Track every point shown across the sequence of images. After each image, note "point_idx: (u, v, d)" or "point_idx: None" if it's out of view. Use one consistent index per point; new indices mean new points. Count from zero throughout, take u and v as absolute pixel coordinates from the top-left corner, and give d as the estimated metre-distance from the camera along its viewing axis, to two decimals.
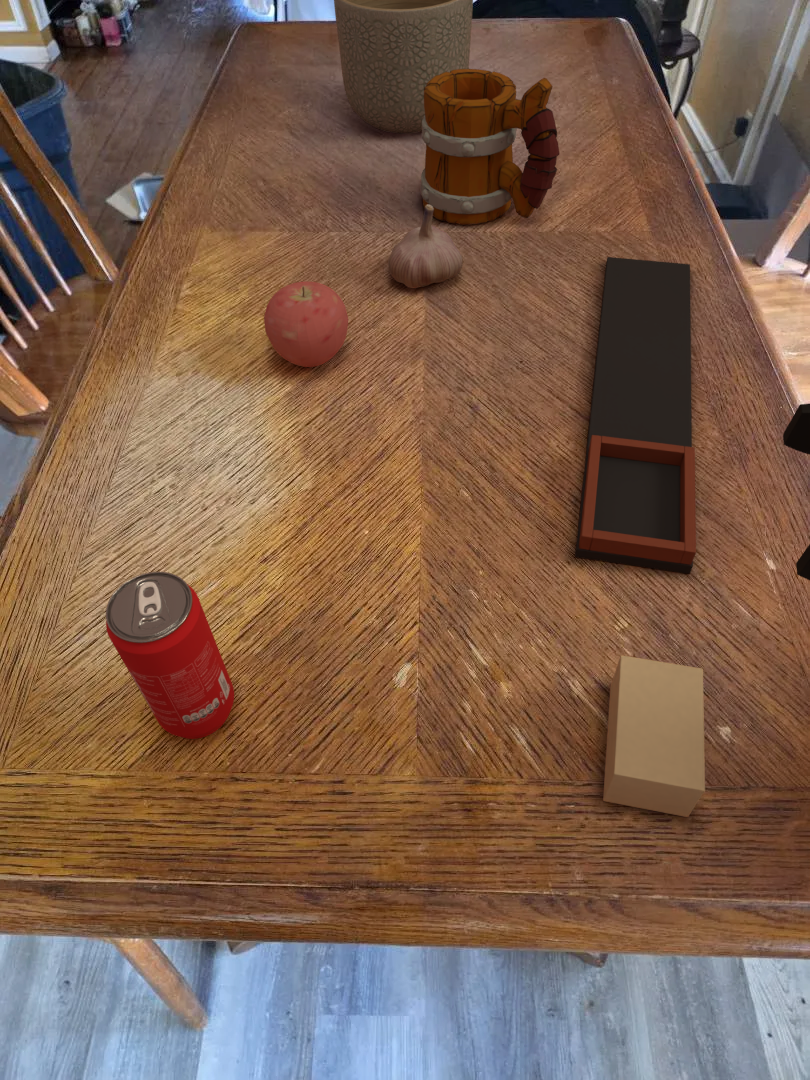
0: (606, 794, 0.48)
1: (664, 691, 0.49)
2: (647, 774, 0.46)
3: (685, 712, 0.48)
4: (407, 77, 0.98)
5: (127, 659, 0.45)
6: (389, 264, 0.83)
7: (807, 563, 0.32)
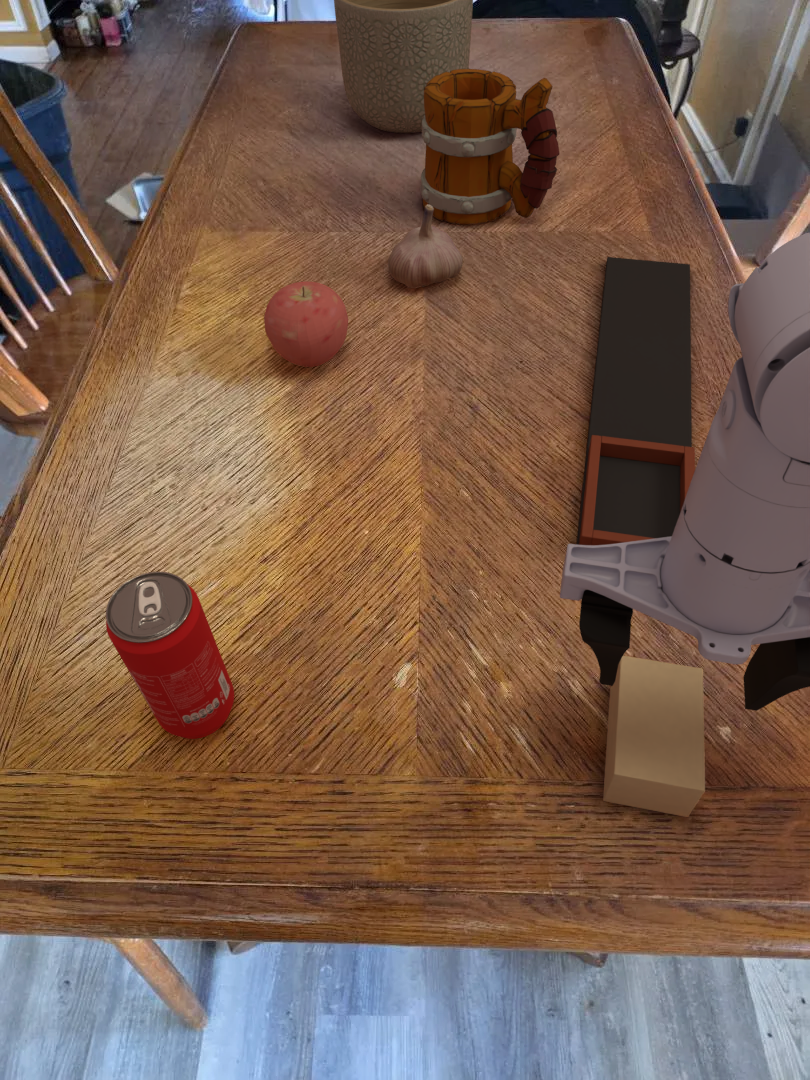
0: (606, 794, 0.48)
1: (664, 691, 0.49)
2: (647, 774, 0.46)
3: (685, 712, 0.48)
4: (407, 77, 0.98)
5: (127, 659, 0.45)
6: (389, 264, 0.83)
7: None
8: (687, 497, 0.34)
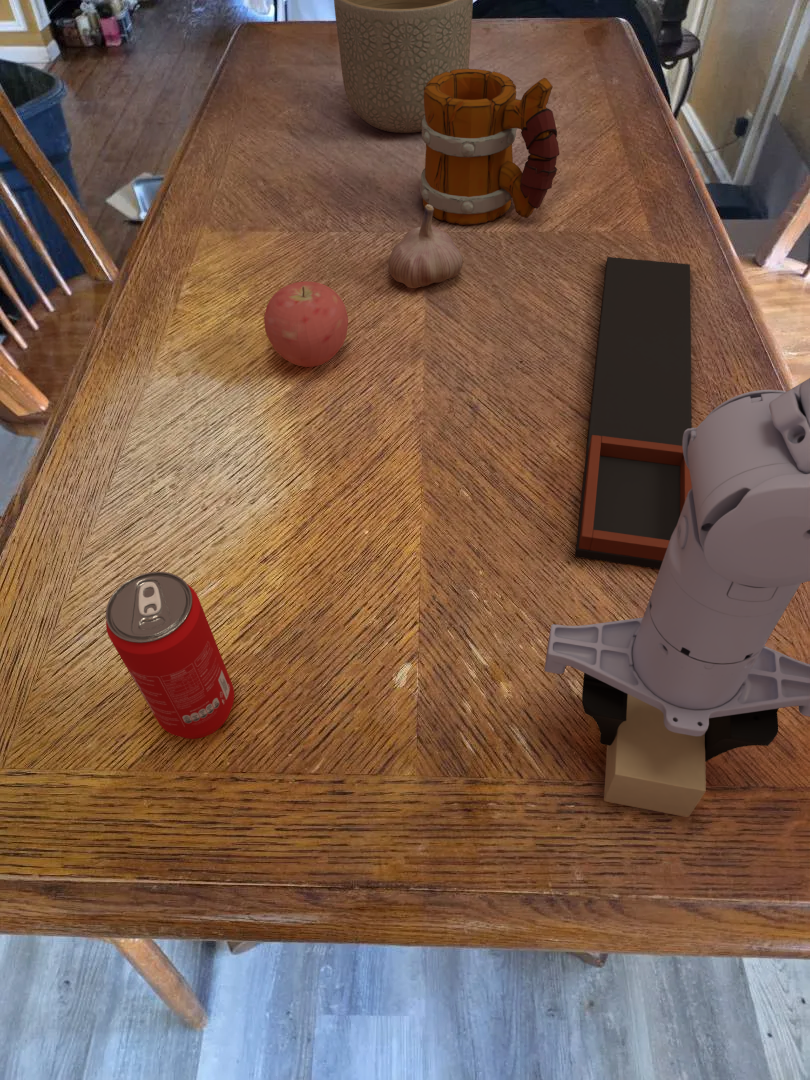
0: (607, 794, 0.48)
1: None
2: (648, 774, 0.46)
3: None
4: (407, 77, 0.98)
5: (127, 659, 0.45)
6: (389, 264, 0.83)
7: None
8: (652, 595, 0.39)
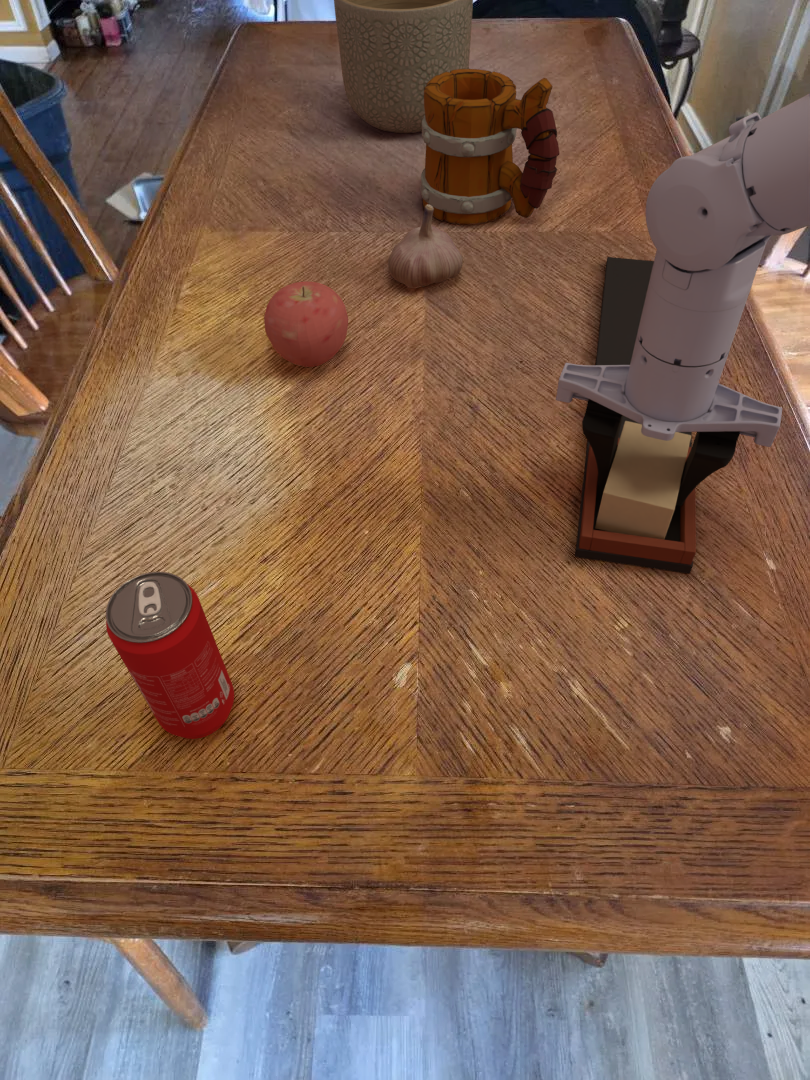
0: (597, 519, 0.60)
1: (655, 446, 0.61)
2: (630, 495, 0.58)
3: (670, 460, 0.60)
4: (407, 77, 0.98)
5: (127, 659, 0.45)
6: (389, 264, 0.83)
7: None
8: None
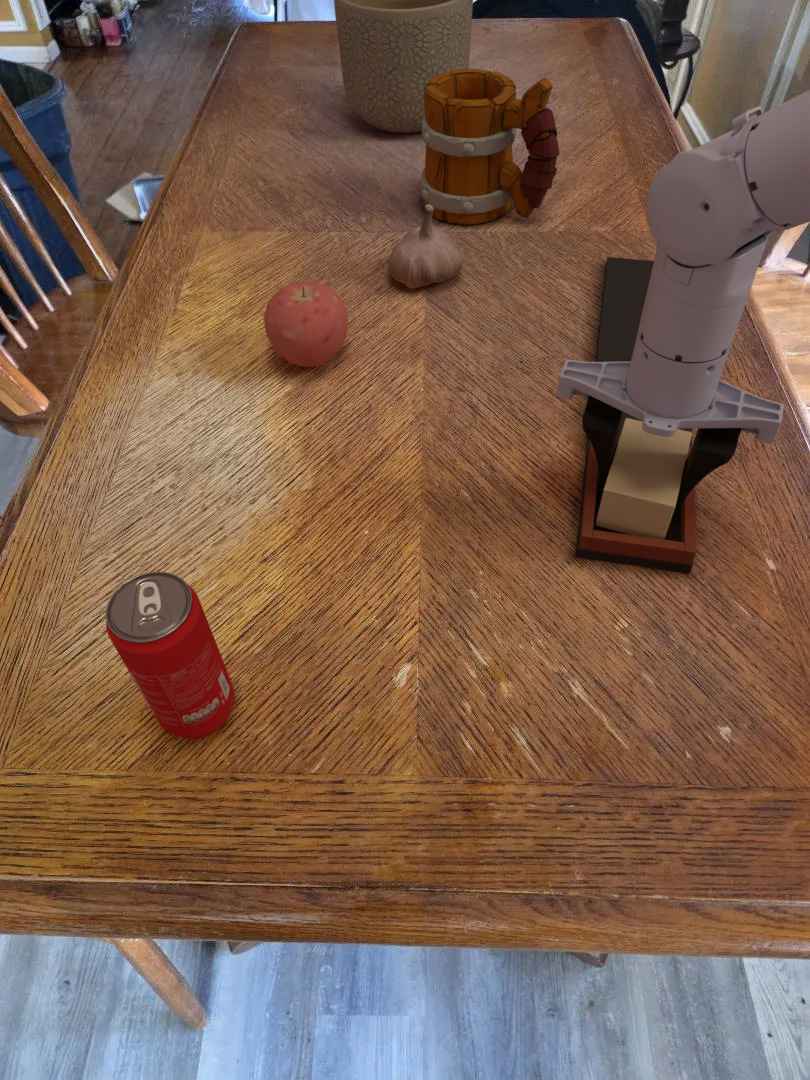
0: (598, 517, 0.60)
1: (656, 443, 0.60)
2: (630, 492, 0.57)
3: (671, 457, 0.59)
4: (407, 77, 0.98)
5: (127, 659, 0.45)
6: (389, 264, 0.83)
7: None
8: None
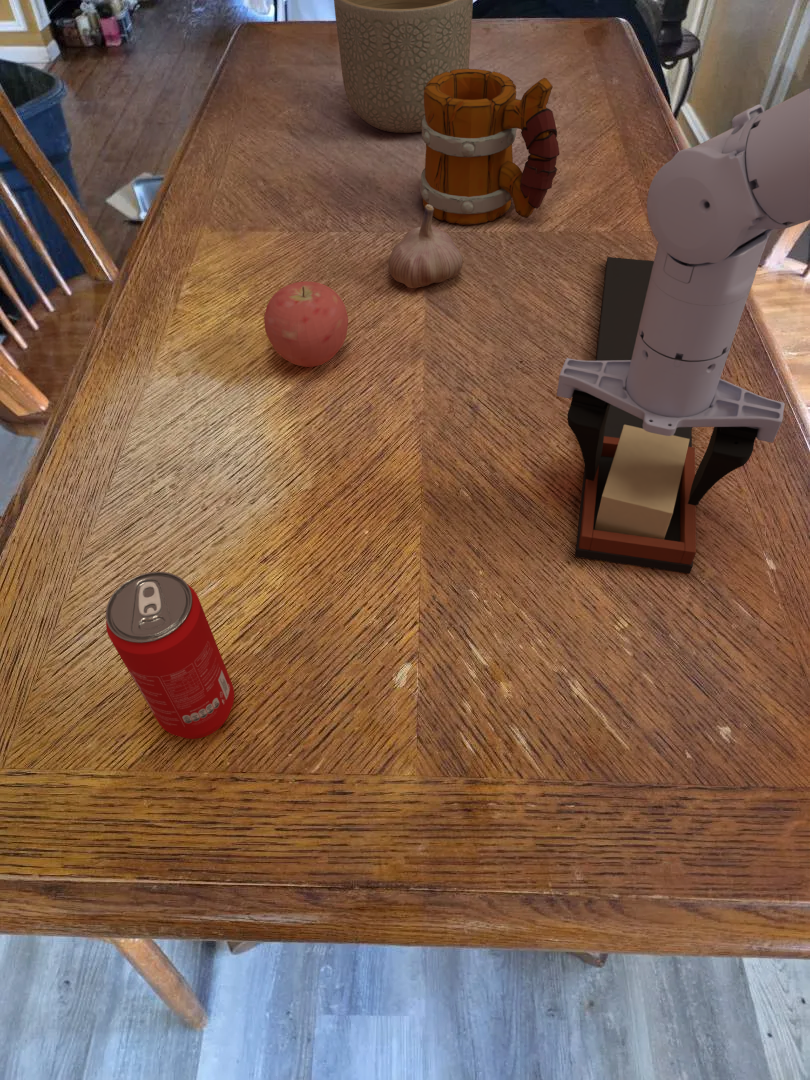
0: (596, 523, 0.60)
1: (654, 450, 0.61)
2: (628, 498, 0.58)
3: (668, 464, 0.60)
4: (407, 77, 0.98)
5: (127, 659, 0.45)
6: (389, 264, 0.83)
7: None
8: None
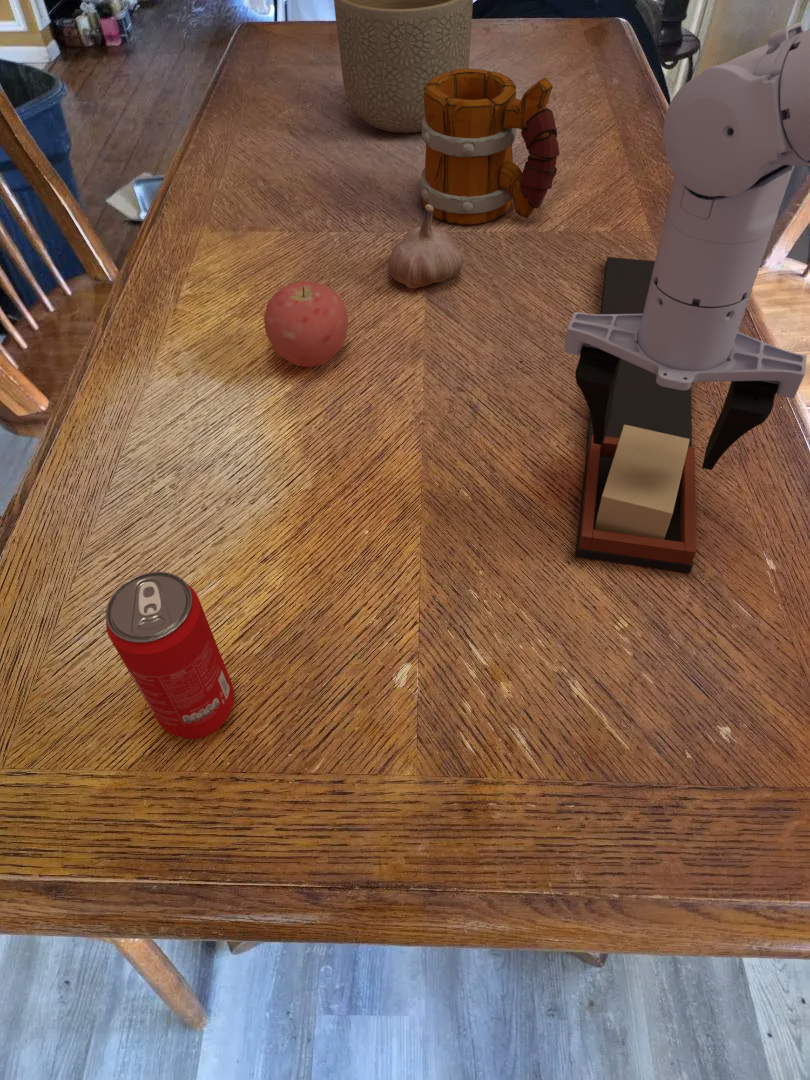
0: (596, 523, 0.60)
1: (654, 450, 0.61)
2: (628, 498, 0.58)
3: (668, 464, 0.60)
4: (407, 77, 0.98)
5: (127, 659, 0.45)
6: (389, 264, 0.83)
7: None
8: None
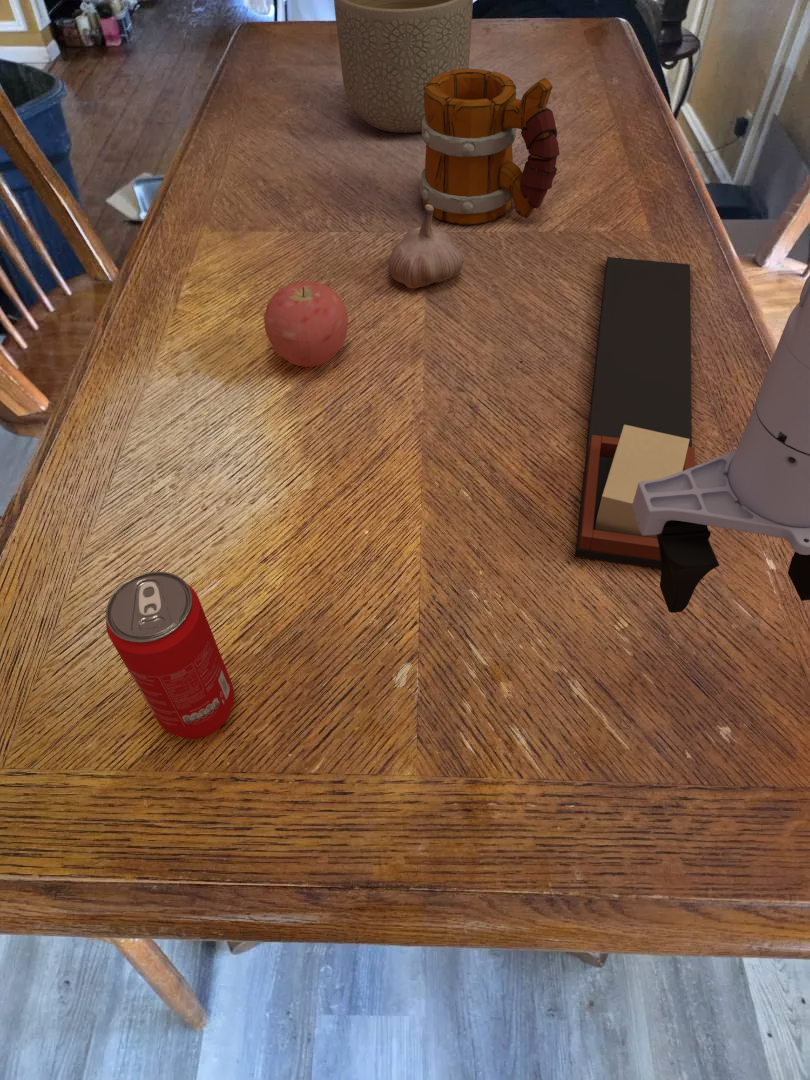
0: (596, 523, 0.60)
1: (654, 450, 0.61)
2: (628, 498, 0.58)
3: (668, 464, 0.60)
4: (407, 77, 0.98)
5: (127, 659, 0.45)
6: (389, 264, 0.83)
7: None
8: None
